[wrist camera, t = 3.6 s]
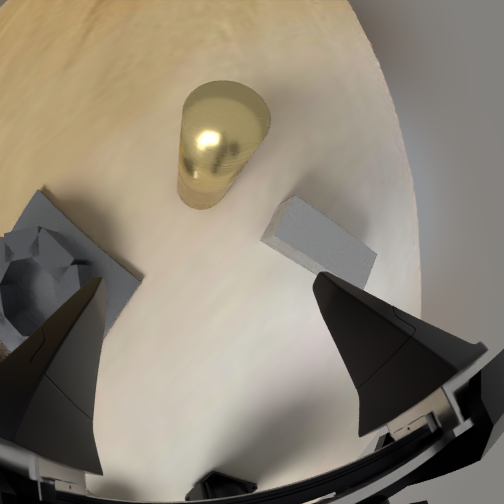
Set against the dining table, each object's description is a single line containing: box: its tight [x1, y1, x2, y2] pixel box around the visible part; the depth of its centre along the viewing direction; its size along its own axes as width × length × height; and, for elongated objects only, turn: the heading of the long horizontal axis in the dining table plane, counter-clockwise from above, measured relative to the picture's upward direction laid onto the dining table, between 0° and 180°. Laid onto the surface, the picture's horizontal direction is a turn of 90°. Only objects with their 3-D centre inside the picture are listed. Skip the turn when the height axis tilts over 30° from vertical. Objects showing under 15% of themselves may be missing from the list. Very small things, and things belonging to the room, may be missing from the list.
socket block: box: [0, 190, 141, 352], centre depth 17 cm, size 14×14×4 cm
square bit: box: [260, 195, 377, 290], centre depth 25 cm, size 10×4×4 cm, turn 61°
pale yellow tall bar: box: [177, 81, 270, 210], centre depth 18 cm, size 4×4×12 cm
